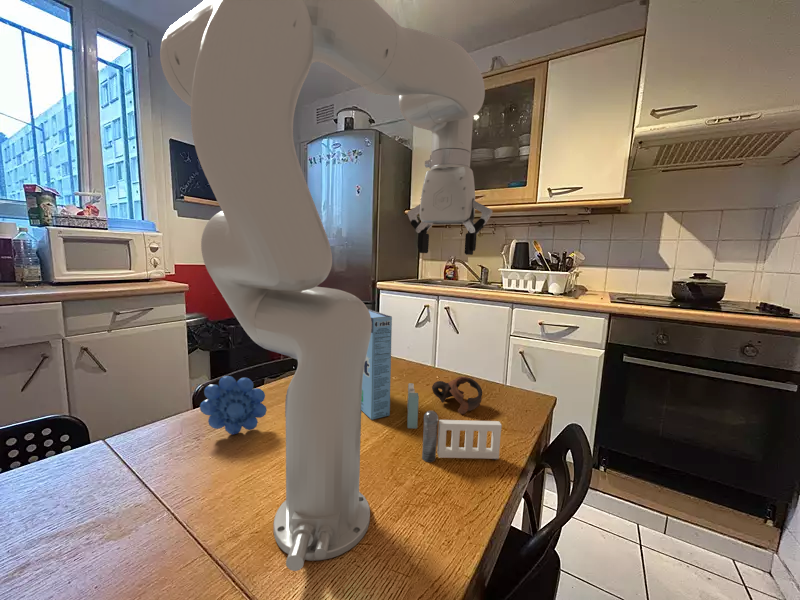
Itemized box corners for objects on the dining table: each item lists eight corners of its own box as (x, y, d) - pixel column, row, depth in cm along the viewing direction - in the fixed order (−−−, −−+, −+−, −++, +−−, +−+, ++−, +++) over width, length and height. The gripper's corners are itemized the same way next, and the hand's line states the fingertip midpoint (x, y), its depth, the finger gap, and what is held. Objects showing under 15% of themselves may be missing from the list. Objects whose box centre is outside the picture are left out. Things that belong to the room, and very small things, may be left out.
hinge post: (436, 462, 60) (439, 414, 59) (422, 462, 60) (424, 414, 59) (435, 454, 63) (437, 408, 62) (420, 453, 63) (423, 407, 62)
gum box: (390, 416, 77) (393, 316, 74) (369, 421, 74) (372, 317, 71) (354, 386, 93) (356, 303, 90) (337, 389, 91) (338, 304, 88)
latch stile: (417, 428, 72) (418, 396, 71) (407, 428, 72) (409, 396, 71) (416, 423, 74) (417, 392, 73) (407, 423, 74) (408, 392, 73)
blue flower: (200, 452, 61) (198, 387, 59) (201, 434, 66) (199, 375, 65) (270, 437, 66) (269, 378, 65) (265, 422, 72) (264, 367, 71)
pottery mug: (470, 398, 90) (483, 377, 85) (473, 429, 82) (487, 408, 77) (427, 386, 89) (438, 364, 84) (425, 416, 81) (437, 394, 76)
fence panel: (414, 423, 74) (415, 397, 73) (409, 423, 74) (410, 397, 73) (412, 407, 82) (413, 383, 81) (407, 407, 82) (408, 383, 81)
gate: (438, 459, 61) (440, 423, 60) (437, 455, 62) (439, 419, 61) (499, 461, 61) (502, 425, 60) (496, 456, 63) (499, 421, 62)
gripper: (401, 163, 67) (398, 252, 69) (489, 154, 58) (482, 255, 61) (418, 172, 73) (415, 252, 76) (500, 164, 65) (493, 255, 67)
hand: (445, 253), depth 68 cm, fingers open, 9 cm apart
